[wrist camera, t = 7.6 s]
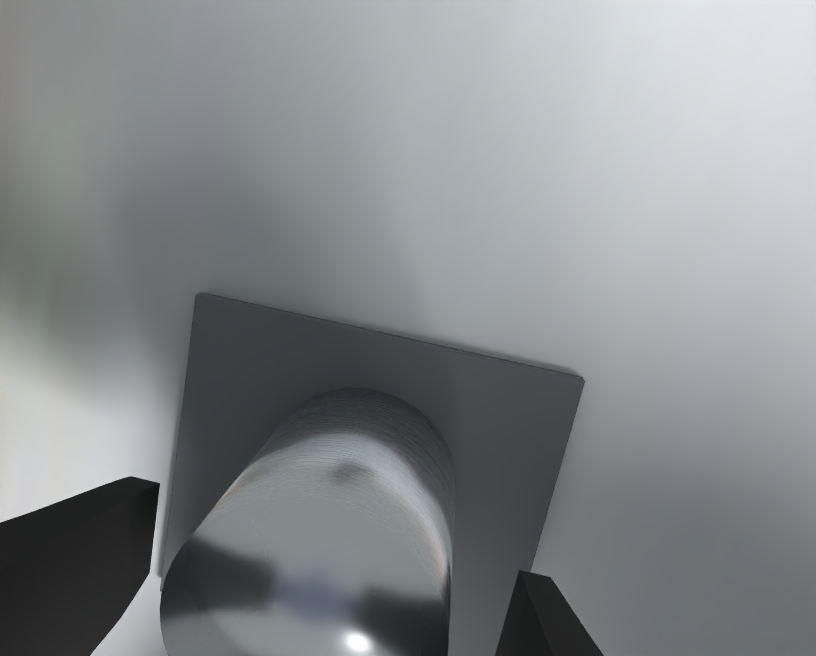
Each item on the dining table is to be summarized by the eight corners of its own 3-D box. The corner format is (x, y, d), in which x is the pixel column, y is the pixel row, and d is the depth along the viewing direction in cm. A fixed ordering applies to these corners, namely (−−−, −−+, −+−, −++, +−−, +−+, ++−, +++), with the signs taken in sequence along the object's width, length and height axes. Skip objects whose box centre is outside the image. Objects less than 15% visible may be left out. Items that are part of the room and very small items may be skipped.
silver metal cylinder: (479, 418, 14) (484, 548, 9) (403, 668, 16) (371, 896, 11) (286, 365, 14) (184, 463, 9) (232, 618, 16) (120, 819, 11)
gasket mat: (582, 377, 14) (585, 381, 13) (499, 667, 16) (499, 675, 15) (201, 292, 14) (195, 294, 14) (165, 584, 16) (159, 591, 16)
